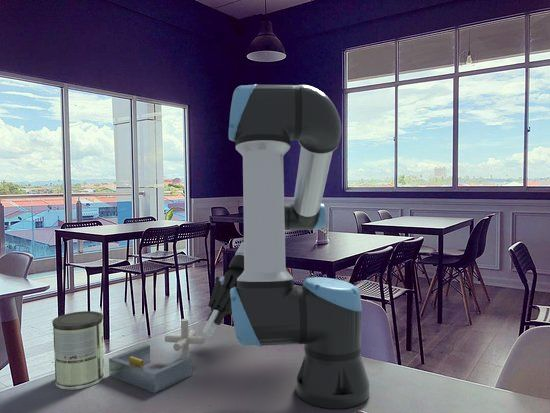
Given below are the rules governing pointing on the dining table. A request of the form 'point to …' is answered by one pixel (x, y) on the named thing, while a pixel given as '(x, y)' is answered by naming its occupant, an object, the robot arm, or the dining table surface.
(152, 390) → the jig
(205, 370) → the dining table surface
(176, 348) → the pipe connector
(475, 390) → the dining table surface
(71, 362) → the coffee can
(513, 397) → the dining table surface
